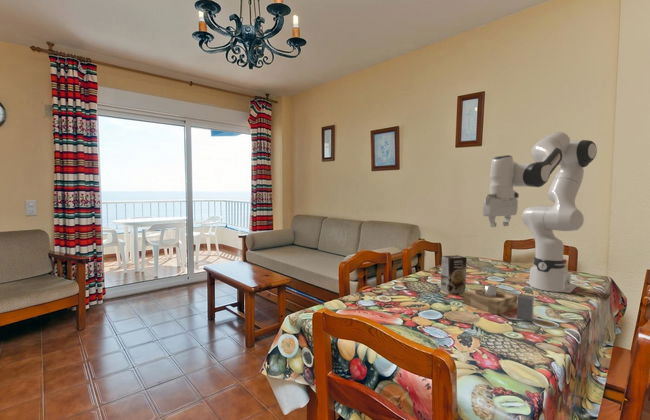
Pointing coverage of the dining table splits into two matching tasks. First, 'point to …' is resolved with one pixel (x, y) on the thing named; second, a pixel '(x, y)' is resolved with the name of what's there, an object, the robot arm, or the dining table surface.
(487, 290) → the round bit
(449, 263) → the coffee box
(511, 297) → the bore block
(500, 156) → the robot arm
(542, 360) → the dining table surface
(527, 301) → the square bit
